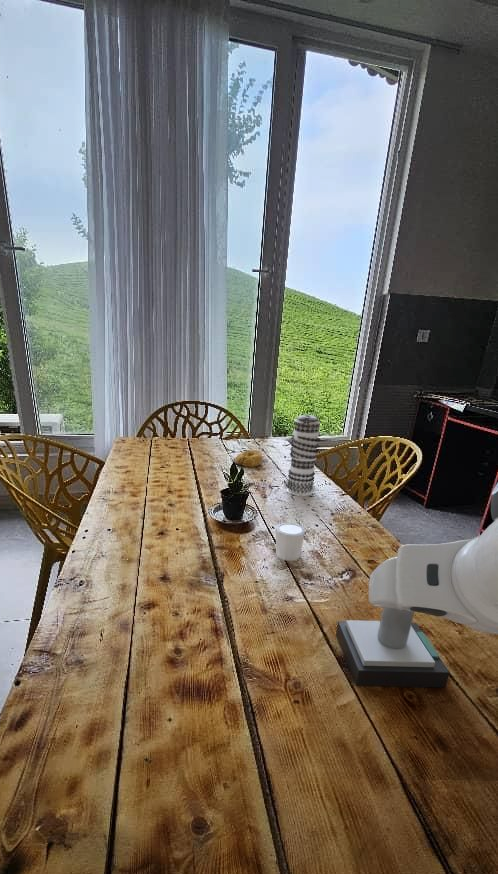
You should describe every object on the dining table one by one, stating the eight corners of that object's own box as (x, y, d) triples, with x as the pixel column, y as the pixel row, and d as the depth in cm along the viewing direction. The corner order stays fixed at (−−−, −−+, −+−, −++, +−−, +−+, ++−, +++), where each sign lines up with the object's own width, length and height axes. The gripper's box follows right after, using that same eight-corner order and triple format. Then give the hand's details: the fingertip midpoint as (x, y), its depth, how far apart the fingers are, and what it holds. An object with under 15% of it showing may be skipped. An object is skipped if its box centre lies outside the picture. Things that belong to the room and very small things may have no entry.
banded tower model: (319, 493, 146) (329, 417, 137) (299, 498, 141) (308, 420, 132) (300, 484, 153) (308, 412, 144) (279, 489, 148) (287, 414, 139)
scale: (412, 636, 80) (417, 618, 78) (445, 687, 69) (451, 667, 67) (335, 634, 79) (338, 616, 78) (355, 685, 68) (360, 665, 67)
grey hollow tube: (384, 627, 75) (396, 575, 72) (411, 640, 72) (424, 586, 69) (372, 639, 72) (383, 585, 69) (398, 653, 69) (411, 598, 66)
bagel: (232, 460, 178) (232, 448, 176) (259, 460, 179) (260, 448, 177) (235, 467, 169) (236, 455, 167) (264, 467, 170) (265, 455, 168)
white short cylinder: (304, 562, 103) (307, 535, 100) (274, 561, 103) (277, 534, 100) (299, 548, 109) (302, 523, 107) (272, 547, 109) (274, 521, 107)
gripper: (607, 567, 43) (531, 596, 55) (385, 542, 46) (361, 574, 59) (619, 635, 40) (537, 649, 53) (384, 603, 44) (359, 623, 56)
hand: (443, 609), depth 56 cm, fingers open, 8 cm apart
